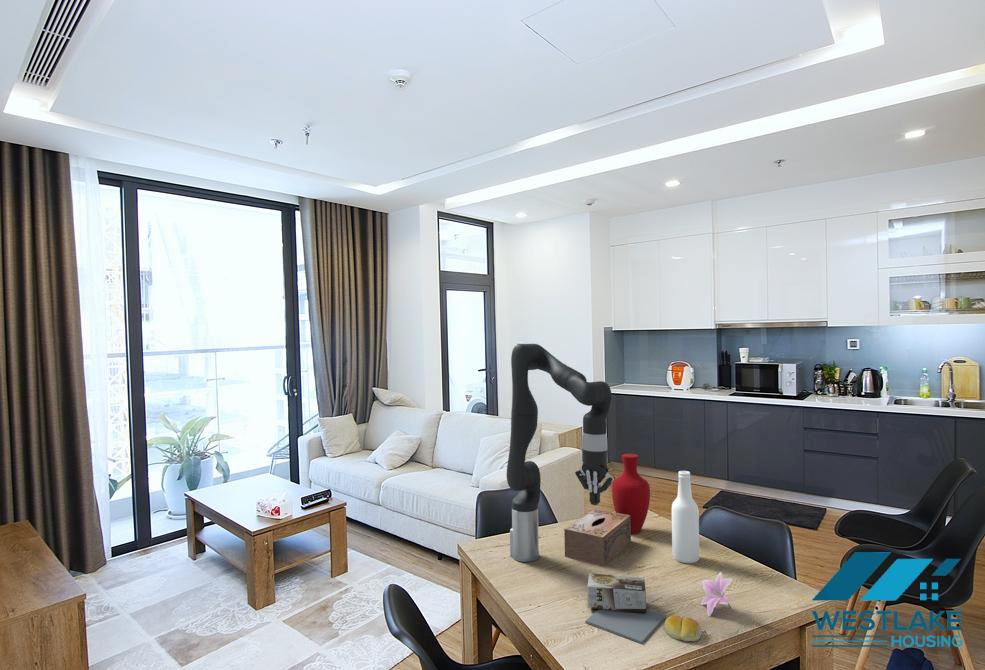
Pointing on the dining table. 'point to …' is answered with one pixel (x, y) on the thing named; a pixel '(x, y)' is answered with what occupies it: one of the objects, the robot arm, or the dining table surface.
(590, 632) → the dining table surface
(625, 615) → the mat
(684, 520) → the alcohol
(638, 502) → the vase
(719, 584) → the lily
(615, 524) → the tissue box cover
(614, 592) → the coffee box
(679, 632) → the bread roll
